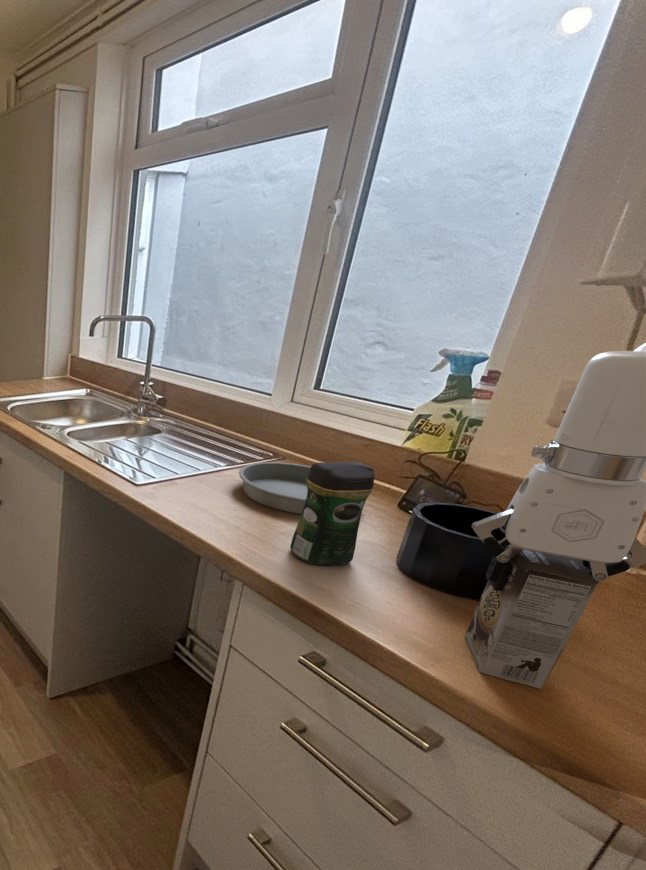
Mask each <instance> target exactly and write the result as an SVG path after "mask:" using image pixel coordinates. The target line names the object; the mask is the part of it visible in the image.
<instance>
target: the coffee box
mask: <svg viewBox="0 0 646 870" xmlns="http://www.w3.org/2000/svg"><path fill="white" fill-rule="evenodd" d="M511 563H512V565H513V568H512V570H511V573H510V575H509V577H508V579H507V582H506V584H505V586H504V588H503V590H501V591H497V590H494V589H493V587H492V585H491V583H490V582H489V580H488V582H487V584H486V587H485V589H484V592H483V594H482V596H481V599H480V600H478V603H477V606H476V608H475V610H474V613H473V616H472V617H471V620H470V623H469V625H468V627H467V630H466V632H465V634H464V638H465V640H466V642H467V645H468V647H469V650H470V652H471V654H472V657H473V659H474V662H475V664H476V666H477V669H478V672H479V673H481V674H483V675H488V676H491V677H493V678H499V679H502V680H506V681H508V682H509V681H510V682H513V683H517V684H521V685H524V686H528V687H531V688H535V689H539V690H541V689H543V688H544V686H545V684H546V681H547V680H548V678H549V676H550V674H551V672H552V671H553V669H554V667H555V665H556V663H557V661H558V659H559V657H560V655H562V654H561V653H562V652H563V650H564V648H565V647H566V645H567V643H568V641H569V640H570V637H571V635H572V633H573V632H574V630H575V628H576V626H577V625H578V623H579V620H580V619H581V617H582V615H583V613H584V611H585V609H586V607H587V606H588V604H589V602H590V600H591V598H592V596H593V595H594V592H595V590H596V589H597V587H598V585H599V582H597V581H596V580H595V579H594V578H593V577H592V576H591V575H590V574H589V573H588V572H587V570H586V569H585V568H584V567H583V566H582V565H581V564H580V563H579V562H578V560H577V559H574V558H568V557H563V556H557V555H552V554H546V553H541V552H535V551H530V550H525V549H524V550H523V551H522V552H520V553H519V554H518V555H516V556H515V557H514V558H512V559H511Z"/></svg>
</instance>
